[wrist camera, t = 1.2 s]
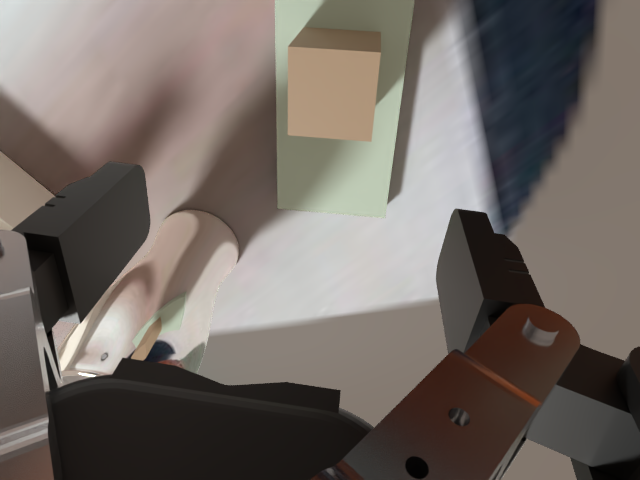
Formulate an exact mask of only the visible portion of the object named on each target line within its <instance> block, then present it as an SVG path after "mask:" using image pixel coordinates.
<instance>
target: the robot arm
mask: <svg viewBox="0 0 640 480" xmlns="http://www.w3.org/2000/svg"><path fill="white" fill-rule="evenodd" d="M149 229H150V213H149V205H148V196H147V188H146V180H145V173H144V170H143V168H142V167H141V166H140V165H134V164H126V163H119V162H111V161H110V162H108V163H107V164H105V165H104V166H103V167H102V168H100V169H99V170H98V171H97V172H96V173H94V174H93V175H92V176H91V177H87V178H84V179H82V180H79V181H77V182H74V183H72V184H69V185H68V186H67V187H65V188H64V189H63V190H61V191H60V192H59V193H58V194H56V197H53V198H51V199H50V200H49V201H47V202H46V203H45V206H41V207H40V208H39V209H37V210H36V211H35V212H34V213H32V214H31V215H30V216H28V217H27V218H26V219H25V220H23V221H22V222H21V223H20V224H18V225H17V226H16V227H14V228H13V229H12V230H0V480H502V478H503V476H504V475H505V473H506V472H507V470H508V469H509V467H510V466H511V464H512V462H513V461H514V459H515V458H516V456H517V455H518V453H519V451H520V450H521V448H522V447H523V445H524V444H525V442H526V441H527V439H529V440H531V441H534V442H536V443H538V444H541V445H543V446H545V447H548V448H550V449H552V450H554V451H557V452H559V453H561V454H564V455H566V456H568V457H570V458H571V461H572V465H573V468H574V472H575V475H576V478H577V480H640V347H637V348H634V350H632V351H631V353H630V354H629V356H628V357H627V359H626V360H625V361H624V360H621V359H618V358H615V357H613V356H610V355H607V354H604V353H601V352H598V351H596V350H593V349H591V348H588V347H586V346H583V345H581V344H580V337H579V334H578V332H577V331H576V329H575V328H574V327H573V326H572V324H571V323H570V322H568V321H567V320H566V319H565V318H563V317H562V316H561V315H559V314H557V313H555V312H554V311H551V310H549V309H547V308H545V306H544V304H543V302H542V300H541V298H540V295H539V293H538V291H537V289H536V286H535V284H534V282H533V280H532V278H531V275H529V271H528V269H527V267H526V264H525V263H524V260H523V258H522V255H521V253H520V251H519V249H518V247H517V246H516V245H515V244H514V243H513V242H512V241H510V240H509V239H508V238H507V237H506V236H505V235H503V234H496V233H494V231H493V229H492V226H491V224H490V221H489V219H488V216H487V214H486V213H484V212H477V211H469V210H462V209H455V210H454V211H453V213H452V215H451V218H450V222H449V225H448V229H447V232H446V235H445V239H444V242H443V246H442V249H441V253H440V256H439V260H438V265H437V272H436V283H437V289H438V295H439V301H440V307H441V313H442V319H443V325H444V331H445V337H446V343H447V349H448V355H447V356H446V357H445V358H444V359H443V360H442V361H441V362H440V363H439V364H438V365H437V366H436V367H435V368H434V369H433V370H432V371H431V372H430V373H429V374H428V375H427V376H426V377H425V378H424V379H423V380H422V381H421V382H420V383H419V384H418V385H417V386H416V387H415V388H414V389H413V390H412V391H411V392H410V393H409V394H408V395H407V396H405V398H403V399H402V400H401V401H400V403H399V404H398V405H396V407H395V408H393V409H392V410H391V411H390V412H389V413H388V414H387V415H386V416H385V417H384V418H383V419H382V420H381V421H380V422H379V423H378V424H377V425H376V426H375V427H373V426H372V425H370V424H369V423H367V422H366V421H364V420H363V419H361V418H360V417H358V416H356V415H354V414H352V413H350V412H348V411H346V410H344V409H341V408H339V402H340V390H334V389H328V388H321V387H315V386H308V385H302V384H295V383H288V382H281V383H265V384H249V385H233V386H232V385H231V386H230V385H224V384H220V383H218V382H215V381H213V380H210V379H208V378H205V377H203V376H200V375H198V374H195V373H193V372H190V371H188V370H185V369H183V368H180V367H178V366H175V365H169V364H162V363H156V362H149V361H142V360H136V359H129V358H122V359H121V361H120V362H119V364H118V366H117V367H116V369H115V371H114V372H113V374H109V375H101V376H95V377H90V378H86V379H82V380H78V381H75V382H72V383H69V384H66V385H64V382H63V377H62V372H61V366H60V361H59V356H58V351H57V345H56V340H55V336H54V332H53V329H52V327H53V326H54V325H55V324H56V323H57V322H58V321H63V322H69V323H76V324H81V323H82V321H83V320H84V319H85V318H86V316H87V315H88V314H89V312H90V311H91V310H92V309H93V307H94V306H95V305H96V303H97V302H98V301H99V300H100V298H101V297H102V296H103V294H104V293H105V292H106V291H107V289H108V288H109V287H110V285H111V284H112V283H113V282H114V280H115V279H116V278H117V276H118V275H119V274H120V273H121V271H122V270H123V269H124V267H125V266H126V265H127V264H128V262H129V261H130V260H131V258H132V257H133V256H134V255H135V253H136V252H137V251H138V249H139V248H140V247H141V246H142V244H143V243H144V242H145V240H146V238H147V236H148V233H149Z"/></svg>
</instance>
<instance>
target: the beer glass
mask: <svg viewBox="0 0 640 480" xmlns="http://www.w3.org/2000/svg"><path fill="white" fill-rule="evenodd" d="M238 257H239V245H238V242H237V239H236V237H235V235H234V233H233V232H232V230H231V229H230V228H229V227H228V226H227V225H226V224H225V223H224V222H223V221H222V220H220V219H219V218H217V217H216V216H214V215H212V214H209V213H207V212H203V211H199V210H182V211H178V212H176V213H173V214H172V215H170V216H169V217H167V218H166V219H165V220H164V221H163V223H162V224H161V226H160V227H159V230H158V232H157V235H156V237H155V240H154V243H153V245H152V247H151V249H150V250H149V252H148V253H147V254H146V255H145V256H144V257H143V258H142V259H141V260H140V261H139V262H138V263H137V264H136V265H134V266H133V267H132V268H131V269H129V270H128V271H127V272H126V273H125V274H123V275H122V276H121V277H120V278H119V279H117V280H116V281H115V282H114V283H113V284H112V285H110V287H109V288H108V289H107V291H106V292H105V293H104V294H103V296H102V297H101V298H100V300H99V301H98V302H97V303H96V305H95V306H94V307H93V309H92V310H91V311H90V312H89V314H88V315H87V316H86V318H85V319H84V320H83V321H82V323H81V324H76V323H75V325H74V326H73V327H72V329H71V330H70V332H69V333H68V334H67V336H66V337H65V338H64V340H63V342H62V343H61V345H60V346H59V348H58V349H57V351H58V356H59V361H60V366H61V372H62V377H63V382H64V385H66V384H69V383H72V382H75V381H78V380H82V379H86V378H90V377H95V376H101V375H109V374H113V372H114V371H115V369H116V367H117V366H118V364H119V362H120V361H121V359H122V358H129V359H136V360H142V361H149V362H156V363H162V364H169V365H175V366H178V367H180V368H183V369H185V370H188V371H190V372H193V373H195V374H197V372H198V369H199V367H200V364H201V361H202V358H203V356H204V352H205V348H206V344H207V340H208V336H209V331H210V326H211V321H212V315H213V310H214V304H215V299H216V295H217V292H218V289H219V287H220V285H221V284H222V282H223V281H224V280H225V278H226V277H227V276H228V275H229V274H230V272H231V271H232V270H233V268H234V267H235V265H236V263H237V261H238Z"/></svg>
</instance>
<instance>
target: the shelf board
mask: <svg viewBox="0 0 640 480" xmlns="http://www.w3.org/2000/svg"><path fill="white" fill-rule="evenodd" d="M414 2H415V0H275V46H276V130H277V209H287V210H298V211H309V212H320V213H332V214H343V215H354V216H365V217H376V218H385V215H386V208H387V200H388V193H389V186H390V178H391V171H392V164H393V156H394V149H395V142H396V134H397V127H398V119H399V112H400V105H401V97H402V90H403V83H404V75H405V68H406V61H407V53H408V46H409V39H410V31H411V24H412V17H413V9H414Z"/></svg>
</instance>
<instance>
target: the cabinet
mask: <svg viewBox="0 0 640 480" xmlns="http://www.w3.org/2000/svg"><path fill="white" fill-rule="evenodd" d="M53 197H55V196H54V195H53V194H52V193H51V192H49V191H48V190H47V189H46V188H45V187H43V186H42V185H41V184H40V183H38V182H37V181H36V180H35V179H34V178H32V177H31V176H30V175H29V174H28V173H26V172H25V171H24V170H23V169H22V168H20V167H19V166H18V165H17V164H16V163H14V162H13V161H12V160H11V159H9V158H8V157H7V156H6V155H5V154H3V153H2V152H1V151H0V230H12V229H13V228H14V227H16V226H17V225H18V224H20V223H21V222H22V221H23V220H25V219H26V218H27V217H28V216H30V215H31V214H32V213H34V212H35V211H36V210H37V209H39V208H40V207H41V206H45V203H46V202H47V201H49V200H50V199H51V198H53Z"/></svg>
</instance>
